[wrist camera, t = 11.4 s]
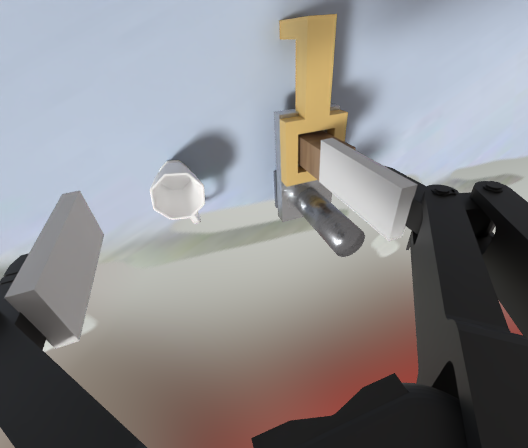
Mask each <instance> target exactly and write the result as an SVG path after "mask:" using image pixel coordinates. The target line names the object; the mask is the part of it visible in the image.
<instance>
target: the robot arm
mask: <svg viewBox="0 0 528 448" xmlns="http://www.w3.org/2000/svg"><path fill="white" fill-rule="evenodd" d="M319 182H320V183H321V184H322V185H323V186H325V187H326V188H327V189H328V190H329V191H331V192H332V193H333V194H334V195H335V196H336V197H338V198H339V199H340V200H341V201H342V202H344V203H345V204H346V205H347V206H348V207H349V208H350V209H352V210H353V211H354V212H355V213H356V214H358V215H359V216H360V217H361V218H362V219H363V220H365V221H366V222H367V223H368V224H369V225H370V226H372V227H373V228H374V229H375V230H377V231H378V232H379V233H380V234H381V235H382V236H383V237H385V238H386V239H387V240H388V241H391V240H394V239H397V238H400V237H403V233H404V230H405V227H406V226H407V227H408V228H409V229H411V230H412V232H411V235H410V238H409V242H408V245H407V248H406V250H409V248H410V247H411V262H412V276H413V291H414V306H415V321H416V336H417V351H418V364H419V366H418V367H419V370H418V378H417V383H416V384H415V383H401V381H400V380H399V378H398V377H397V376H396V374H395V373H394V374H392V375H389V376H387V377H385V378H383V379H381V380H378V381H376V382H374V383H372V384H370V385H367V386H365V387H363V388H362V389H361V390H360V391H359V392H358V393H357V394H356V395H355V396H354V397H353V398H351V399H350V400H349V401H348V402H347V403H346V404H345V405H344V406H343V407H342V408H341V409H340V410H339V411H338V412H337V413H336V414H334V415H332V416H325V417H317V418H309V419H300V420H292V421H288V422H286V423H284V424H282V425H279V426H277V427H275V428H273V429H271V430H268V431H266V432H264V433H262V434H260V435H257V436H255V437H253V438H252V443H253V447H254V448H528V202H527V201H526V200H524V199H523V198H522V197H520V196H519V195H518V194H517V193H516V192H514V191H513V190H512V189H511V188H509V187H507V186H506V185H503V184H501V183H499V182H494V181H481V182H477V183H475V185H474V187H473V190H472V192H471V193H459V192H458V191H457V190H455V189H454V188H451V187H448V186H444V185H429V186H427V187H426V186H425V185H423V184H421V183H419V182H417V181H415V180H413V179H411V178H410V177H407V176H406V175H404V174H402V173H400V172H399V171H397V170H395V169H393V168H390V167H386V166H383V165H381V164H379V163H377V162H376V161H374V160H372V159H370V158H368V157H366V156H365V155H363V154H361V153H359V152H357V151H356V150H354V149H352V148H350V147H348V146H346V145H345V144H343V143H341V142H339V141H337V140H335V139H334V138H329V139H324V140H321V149H320V171H319ZM494 227H496V232H495V235H494V233H493V232H492V231H493V229H494ZM103 237H104V234H103V232H102V230H101V228H100V227H99V225H98V223H97V221H96V219H95V217H94V216H93V214H92V212H91V210H90V208H89V207H88V205H87V203H86V201H85V199H84V197H83V196H82V194H81V192H80V191H75V192H70V193H66V194H62V196H61V197H60V199H59V201H58V203H57V204H56V206H55V208H54V210H53V212H52V213H51V215H50V217H49V219H48V221H47V222H46V224H45V226H44V228H43V229H42V231H41V233H40V235H39V237H38V238H37V240H36V242H35V244H34V245H33V247H32V249H31V251H30V253H29V254H25V255H21V256H20V257H19V258H18V259H17V260H15V261H14V262H13V263H12V264H11V265H10V266H9V268H8V269H7V271H6V272H5V274H4V277H3V278H2V279H1V281H0V427H1V429H2V430H3V432H4V433H5V434H6V436H7V437H8V438H9V440H10V441H11V443H12V444H13V445H14V447H15V448H147V447H146V446H145V445H144V444H143V443H142V442H141V441H139V440H138V439H137V438H136V437H135V436H134V435H133V434H132V433H131V432H130V431H129V430H127V428H125V427H124V426H123V425H122V424H121V423H120V422H119V421H118V420H117V419H116V418H114V416H113V415H111V414H110V413H109V412H108V411H107V410H106V409H105V408H104V407H103V406H102V405H101V404H100V403H98V402H97V401H96V400H95V399H94V398H93V397H92V396H91V395H90V394H89V393H88V392H87V391H86V390H84V389H83V388H82V387H81V386H80V385H79V384H78V383H77V382H76V381H75V380H74V379H73V378H72V377H71V376H69V375H68V374H67V373H66V372H65V371H64V370H63V369H62V368H61V367H60V366H59V365H58V364H57V363H55V362H54V361H53V360H52V359H51V358H50V357H49V356H48V355H47V354H46V353H45V352H44V351H43V347H44V344H45V341H46V340H47V341H48V342H49V343H50V344H51V345H52V346H53V347H54V348H55V349H56V348H59V347H62V346H65V345H68V344H71V343H74V342H77V341H79V339H80V336H81V331H82V327H83V323H84V319H85V314H86V310H87V305H88V301H89V297H90V293H91V289H92V284H93V280H94V276H95V271H96V267H97V263H98V259H99V254H100V250H101V246H102V241H103ZM498 300H499V301H500V302H501V304H502V305H503V307H504V308H505V310H506V311H507V312H508V314H509V315H510V317H511V318H512V320H513V321H514V323H515V324H516V325H517V327H518V328H519V330H520V331H521V333H522V334H523V336H522V335H518V334H514V333H510V331H509V329H508V326H507V323H506V320H505V318H504V315H503V312H502V309H501V307H500V304H499V301H498Z"/></svg>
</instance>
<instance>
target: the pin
mask: <svg viewBox="0 0 528 448" xmlns="http://www.w3.org/2000/svg"><path fill="white" fill-rule="evenodd" d="M329 138H334V139H335V140H337V141H339V142H341V143H343V144H345V145H346V146H348V147H350V148H352V149H354V150H355V147H353V146H351V145H350V144H348V143H346V142H344V141H342V140H340V139H338V138H336V137H334V136H332V135H330V134H328V133H326V132H324V131H322V130H320V131H315V132H309V133H303V134H298V164H299V165H300V166H301V167H303V168H304V169H305V170H306V171H307V172H309V173H310V174H311V175H312V176H314V177H315V178H316V179H317V180H318V181H319V171H320V149H321V140H324V139H329Z"/></svg>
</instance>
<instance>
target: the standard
mask: <svg viewBox="0 0 528 448" xmlns="http://www.w3.org/2000/svg"><path fill="white" fill-rule="evenodd" d="M339 109H340V105H337V104H334V103H330V111H333V110H339ZM296 116H299V112H297V111H296V109H290V110H284V111H277V112H274V126H275V151H276V171H274V189H275V206H276V208H278V216H279V218H280V219H281V220H282V222H284V221H288V220H292V219H296V218H300V217H305V219H306V220H307V221H308V222H309V223H310V224H311V225H312V227H313V228H314V229H315V230H316V231H317V232H318V233H319V235H320V236H321V237H322V238H323V239H324V240H325V241H326V242H327V244H328V245H329V246H330V247H331V248H332V249H333V250H334V252H335V253H336V254H337V255H338V256H341V257H345V256H349V255H351V254H353V253H355V252H356V251H357V250H358V249H359V248H360V247H361V246H362V244H363V242H364V238H365V235H364V232H363V231H361V229H360V228H358V227H357V226H356V225H355V224H354V223H353V222H352V221H351V220H349V219H348V218H347V217H346V216H345V215H344V214H343V213H342V212H341V211H339V210H338V209H337V208H336V207H335V206H334V205H333V204H332V203H331V197H332V192H331V191H329V190H328V189H327V188H326V187H325V186H323V185H322V184H321V183H320V182H319V181H318V180H315V181H310V182H306V183H301V184H297V185H292V186H288V187H286V186H285V185H284V183H283V182H282V181H281V151H280V119H283V118H290V117H296ZM322 131H324V132H326V133H327V129H326V130H322ZM298 167H300V165H299V164H298Z"/></svg>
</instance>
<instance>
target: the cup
mask: <svg viewBox="0 0 528 448" xmlns="http://www.w3.org/2000/svg"><path fill="white" fill-rule="evenodd" d="M150 194H151V199H152V204H153V209H154V210H155V211H157V212H159V213H160V214H162V215H164V216H165V217H167V218H168V219H170V220H176V219H184V218H191V220H192V221H193V223H194V224H197V223H199V222H201V221H200V216H199V213H198V211H199V210H200V209H201V207H202V206H203V205H204V204H205V195H204V185H203V184H202V182H201V181H200V180H199V179H198V178H197V176H196V175H195V174H194V173H193V172H192V171H190V170H189V169H188V167H187V166H186V165H184V164H183V163H182V162H181V161H179V160H171V161H166V162H165V163H164V164H163V166H162V167H161V168H160V169H159V172H158V174H157V175H156V176H155V178H154V181H153V184H152V186H151V188H150Z"/></svg>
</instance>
